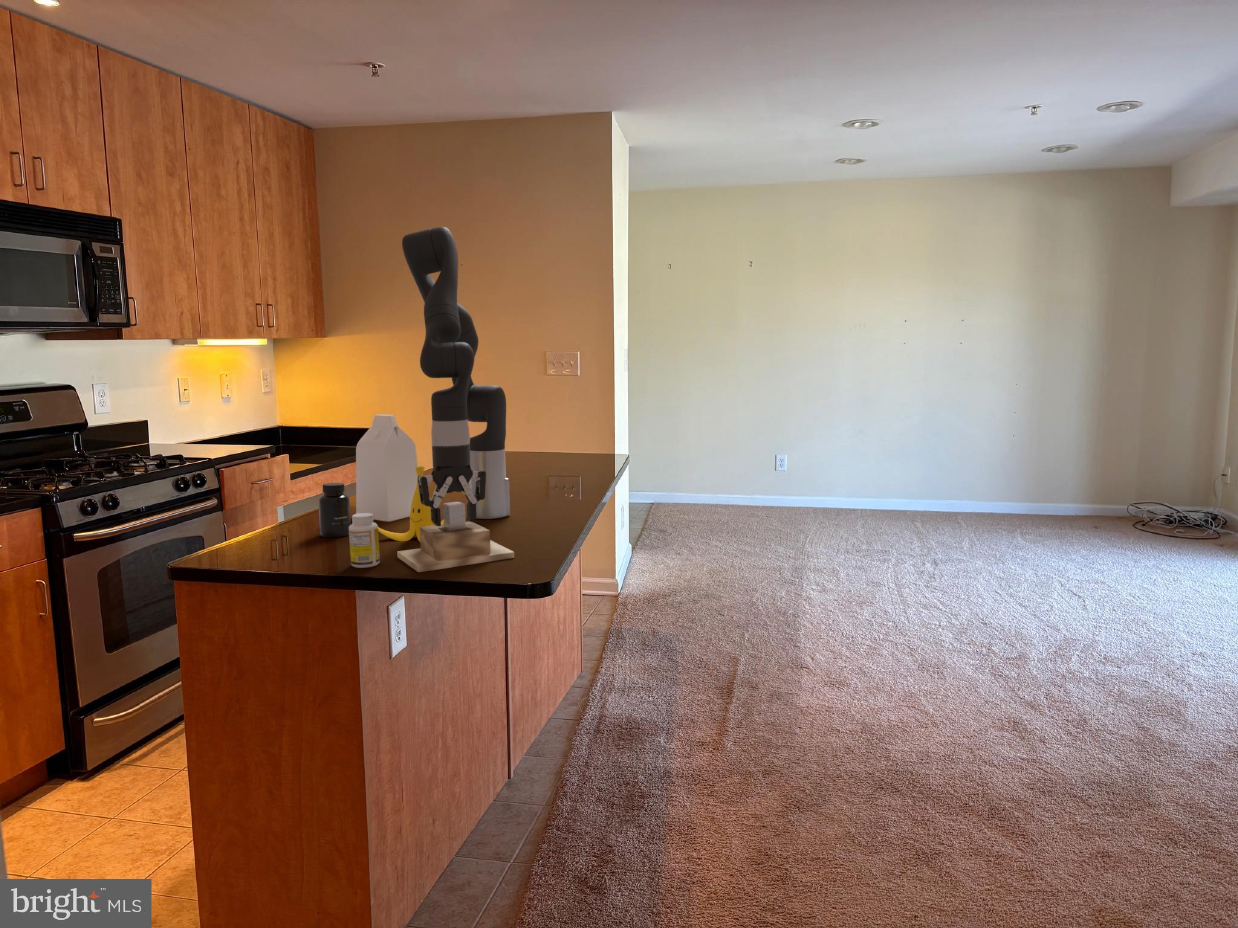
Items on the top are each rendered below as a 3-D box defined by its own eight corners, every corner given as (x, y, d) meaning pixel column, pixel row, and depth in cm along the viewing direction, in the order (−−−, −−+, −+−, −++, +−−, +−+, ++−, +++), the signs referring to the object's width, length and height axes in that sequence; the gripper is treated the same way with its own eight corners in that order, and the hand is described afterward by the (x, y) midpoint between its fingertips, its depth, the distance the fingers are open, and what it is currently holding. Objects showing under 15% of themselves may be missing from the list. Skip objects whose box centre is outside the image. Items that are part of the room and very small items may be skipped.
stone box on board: (488, 544, 182) (487, 517, 181) (514, 557, 170) (513, 528, 169) (397, 557, 171) (396, 528, 171) (418, 572, 159) (417, 541, 159)
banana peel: (444, 547, 180) (441, 471, 178) (372, 541, 187) (368, 467, 184) (483, 531, 195) (481, 461, 193) (415, 526, 202) (412, 458, 200)
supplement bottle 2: (369, 559, 169) (366, 510, 168) (385, 564, 166) (382, 514, 164) (345, 565, 165) (342, 515, 164) (361, 570, 162) (358, 518, 160)
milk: (422, 513, 217) (417, 414, 213) (388, 521, 207) (383, 417, 204) (390, 509, 223) (385, 412, 220) (356, 516, 214) (350, 416, 210)
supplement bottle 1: (341, 538, 189) (338, 486, 187) (314, 537, 190) (311, 486, 189) (356, 532, 196) (354, 481, 194) (330, 531, 197) (327, 481, 195)
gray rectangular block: (460, 548, 173) (458, 501, 171) (466, 552, 170) (465, 504, 169) (444, 550, 171) (443, 503, 170) (450, 554, 168) (449, 505, 167)
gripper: (477, 438, 174) (480, 516, 176) (410, 443, 167) (414, 524, 169) (491, 441, 168) (494, 522, 170) (421, 446, 160) (425, 531, 163)
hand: (454, 523), depth 169 cm, fingers open, 6 cm apart
